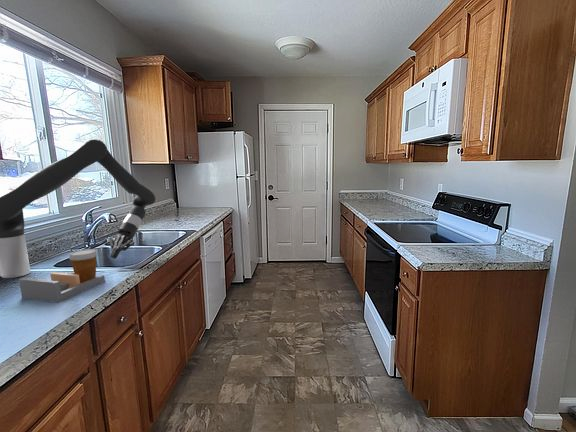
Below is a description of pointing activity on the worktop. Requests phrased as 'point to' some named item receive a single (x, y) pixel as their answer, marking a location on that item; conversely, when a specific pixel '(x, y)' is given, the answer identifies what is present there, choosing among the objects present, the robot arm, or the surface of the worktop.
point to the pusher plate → (65, 280)
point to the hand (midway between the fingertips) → (112, 257)
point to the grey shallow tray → (53, 289)
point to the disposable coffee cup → (84, 264)
